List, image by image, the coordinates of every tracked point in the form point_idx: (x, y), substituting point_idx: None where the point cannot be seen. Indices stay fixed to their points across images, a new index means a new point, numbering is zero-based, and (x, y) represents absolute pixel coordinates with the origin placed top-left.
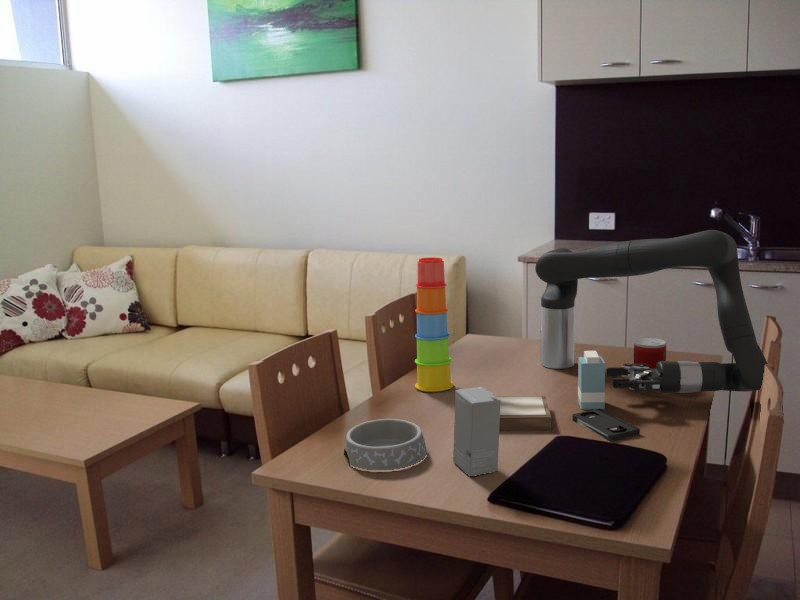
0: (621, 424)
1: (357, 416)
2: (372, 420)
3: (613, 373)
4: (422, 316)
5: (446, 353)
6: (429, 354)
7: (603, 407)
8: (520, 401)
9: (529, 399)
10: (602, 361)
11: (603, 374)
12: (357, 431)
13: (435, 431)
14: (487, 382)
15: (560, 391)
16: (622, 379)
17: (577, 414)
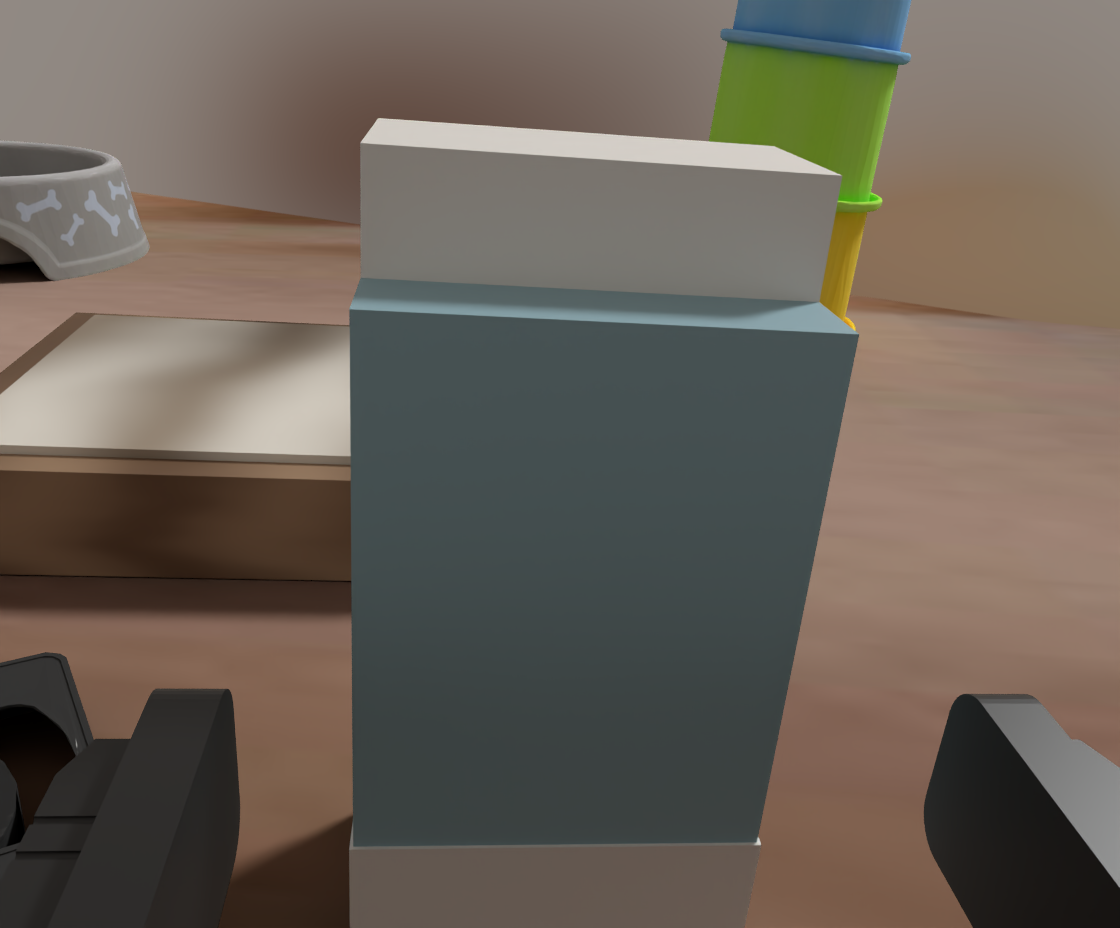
0: None
1: None
2: (109, 156)
3: (998, 885)
4: None
5: (775, 144)
6: (712, 122)
7: None
8: (312, 387)
9: (349, 415)
10: (489, 307)
11: (356, 532)
12: (64, 164)
13: (155, 305)
14: (922, 425)
15: (930, 696)
16: (89, 837)
17: (41, 687)
